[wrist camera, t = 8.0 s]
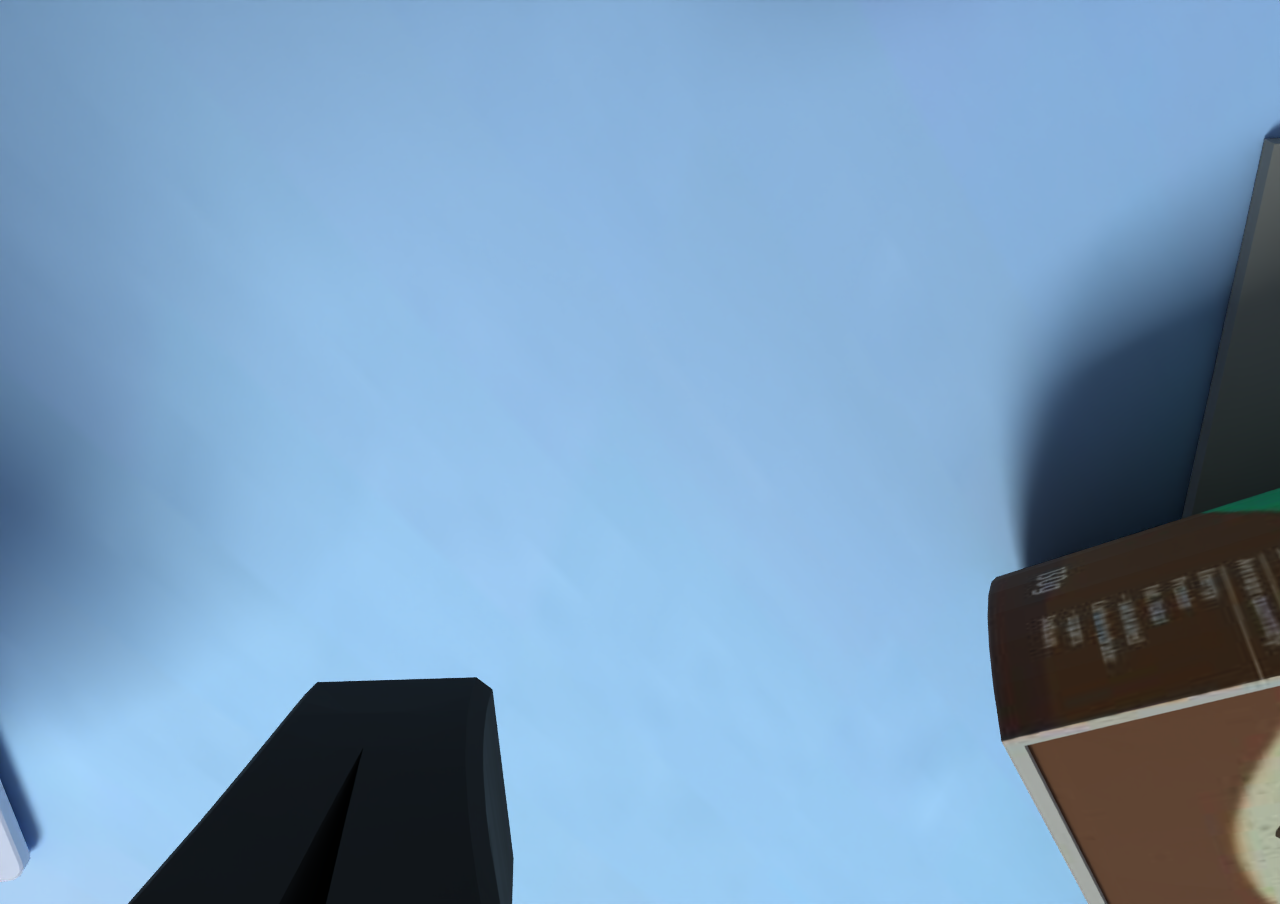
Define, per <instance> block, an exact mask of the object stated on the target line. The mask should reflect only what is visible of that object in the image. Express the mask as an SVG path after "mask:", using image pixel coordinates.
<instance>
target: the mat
mask: <svg viewBox="0 0 1280 904" xmlns="http://www.w3.org/2000/svg"><path fill="white" fill-rule="evenodd" d="M1278 488H1280V138H1268V139H1264V144H1263V148H1262V153H1261V157H1260V162H1259V167H1258V171H1257V176H1256V180H1255V185H1254V189H1253V194H1252V199H1251V203H1250V208H1249V212H1248V217H1247V221H1246V226H1245V231H1244V235H1243V240H1242V244H1241V249H1240V253H1239V258H1238V263H1237V267H1236V272H1235V276H1234V281H1233V286H1232V290H1231V295H1230V299H1229V304H1228V308H1227V313H1226V318H1225V322H1224V327H1223V331H1222V336H1221V340H1220V345H1219V350H1218V354H1217V359H1216V363H1215V368H1214V372H1213V377H1212V382H1211V386H1210V391H1209V395H1208V400H1207V404H1206V409H1205V414H1204V418H1203V423H1202V427H1201V432H1200V436H1199V441H1198V446H1197V450H1196V455H1195V459H1194V464H1193V468H1192V473H1191V478H1190V482H1189V487H1188V491H1187V496H1186V500H1185V505H1184V510H1183V514H1182V519H1183V518H1186V517H1189V516H1192V515H1195V514H1198V513H1202V512H1205V511H1208V510H1211V509H1214V508H1218V507H1221V506H1224V505H1227V504H1230V503H1233V502H1237V501H1240V500H1243V499H1246V498H1249V497H1252V496H1256V495H1259V494H1262V493H1265V492H1268V491H1271V490H1275V489H1278Z"/></svg>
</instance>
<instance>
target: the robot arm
mask: <svg viewBox="0 0 1280 904" xmlns="http://www.w3.org/2000/svg"><path fill="white" fill-rule="evenodd" d="M29 860H30V853H29V850H28V847H27V845H26V842H25V840H24V837H23V835H22V832H21V830H20V827H19V825H18V822H17V820H16V817H15V815H14V812H13V810H12V807H11V805H10V802H9V800H8V797H7V795H6V793H5V790H4V788H3V785H2V783H1V780H0V882H5V881H11V880H15V879H16V878H18V877H20V876H21V874H22V872H23V871H24V869H25V867H26V865H27V864H28V862H29ZM512 887H513V851H512V843H511V835H510V827H509V819H508V811H507V803H506V795H505V787H504V779H503V771H502V763H501V755H500V747H499V739H498V731H497V723H496V714H495V706H494V698H493V690H492V689H491V688H490V687H488V686H487V685H486V684H484V683H483V682H482V681H481V680H479V679H478V678H477V677H474V678H441V679H409V680H376V681H343V682H317V683H316V684H315V685H314V686H313V687H312V688H311V689H310V690H309V691H308V692H307V693H306V694H305V695H304V696H303V698H302V699H301V700H300V701H299V702H298V704H297V705H296V706H295V707H294V708H293V710H292V711H291V712H290V713H289V714H288V716H287V717H286V718H285V719H284V720H283V722H282V723H281V724H280V725H279V727H278V728H277V729H276V730H275V731H274V733H273V734H272V735H271V736H270V738H269V739H268V740H267V741H266V743H265V744H264V745H263V746H262V747H261V749H260V750H259V751H258V752H257V754H256V755H255V756H254V757H253V758H252V760H251V761H250V762H249V763H248V764H247V766H246V767H245V768H244V769H243V771H242V772H241V773H240V774H239V775H238V777H237V778H236V779H235V780H234V781H233V783H232V784H231V785H230V786H229V787H228V789H227V790H226V791H225V792H224V793H223V795H222V796H221V797H220V798H219V799H218V801H217V802H216V803H215V804H214V805H213V806H212V808H211V809H210V810H209V811H208V812H207V814H206V815H205V816H204V817H203V818H202V820H201V821H200V822H199V823H198V824H197V825H196V827H195V828H194V829H193V830H192V831H191V832H190V833H189V835H188V836H187V837H186V838H185V839H184V840H183V841H182V843H181V844H180V845H179V846H178V847H177V848H176V849H175V851H174V852H173V853H172V854H171V855H170V856H169V857H168V859H167V860H166V861H165V862H164V863H163V864H162V865H161V867H160V868H159V869H158V870H157V871H156V872H155V873H154V875H153V876H152V877H151V878H150V879H149V880H148V881H147V883H146V884H145V885H144V886H143V887H142V888H141V889H140V891H139V892H138V893H137V894H136V895H135V896H134V897H133V899H132V900H131V901H130V902H129V903H128V904H512Z"/></svg>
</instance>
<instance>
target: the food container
mask: <svg viewBox="0 0 1280 904" xmlns="http://www.w3.org/2000/svg"><path fill="white" fill-rule="evenodd" d="M988 634H989V650H990V659H991V669H992V678H993V687H994V694H995V701H996V707H997V714H998V721H999V728H1000V734H1001V741H1002V743H1003V745H1004V747H1005V749H1006V751H1007V753H1008V754H1009V756H1010V758H1011V760H1012V762H1013V764H1014V766H1015V767H1016V769H1017V771H1018V773H1019V775H1020V777H1021V779H1022V781H1023V782H1024V784H1025V786H1026V788H1027V790H1028V792H1029V794H1030V796H1031V797H1032V799H1033V801H1034V803H1035V805H1036V807H1037V809H1038V811H1039V812H1040V814H1041V816H1042V818H1043V820H1044V822H1045V824H1046V826H1047V827H1048V829H1049V831H1050V833H1051V835H1052V837H1053V839H1054V841H1055V842H1056V844H1057V846H1058V848H1059V850H1060V852H1061V854H1062V856H1063V857H1064V859H1065V861H1066V863H1067V865H1068V867H1069V869H1070V871H1071V872H1072V874H1073V876H1074V878H1075V880H1076V882H1077V884H1078V885H1079V887H1080V889H1081V891H1082V893H1083V895H1084V897H1085V899H1086V900H1087V902H1088V904H1280V488H1278V489H1275V490H1271V491H1268V492H1265V493H1262V494H1259V495H1256V496H1252V497H1249V498H1246V499H1243V500H1240V501H1237V502H1233V503H1230V504H1227V505H1224V506H1221V507H1218V508H1214V509H1211V510H1208V511H1205V512H1202V513H1198V514H1195V515H1192V516H1189V517H1186V518H1183V519H1179V520H1176V521H1173V522H1170V523H1167V524H1164V525H1160V526H1157V527H1154V528H1151V529H1148V530H1145V531H1141V532H1138V533H1135V534H1132V535H1129V536H1126V537H1122V538H1119V539H1116V540H1113V541H1110V542H1107V543H1103V544H1100V545H1097V546H1094V547H1091V548H1088V549H1084V550H1081V551H1078V552H1075V553H1072V554H1069V555H1065V556H1062V557H1059V558H1056V559H1053V560H1049V561H1046V562H1043V563H1040V564H1037V565H1034V566H1030V567H1027V568H1024V569H1021V570H1018V571H1015V572H1011V573H1008V574H1005V575H1002V576H999V577H996V578H995V579H994V580H993V581H992V582H991V586H990V591H989V595H988Z"/></svg>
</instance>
